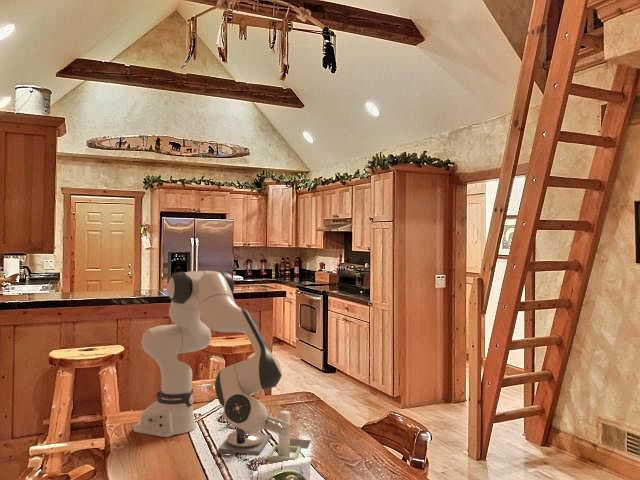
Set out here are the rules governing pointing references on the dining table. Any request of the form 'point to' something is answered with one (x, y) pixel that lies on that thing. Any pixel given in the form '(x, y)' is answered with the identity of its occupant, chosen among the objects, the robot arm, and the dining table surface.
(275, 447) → the tray
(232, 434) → the crank
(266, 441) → the crank base
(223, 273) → the robot arm
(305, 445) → the socket plate
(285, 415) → the pin
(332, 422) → the dining table surface
